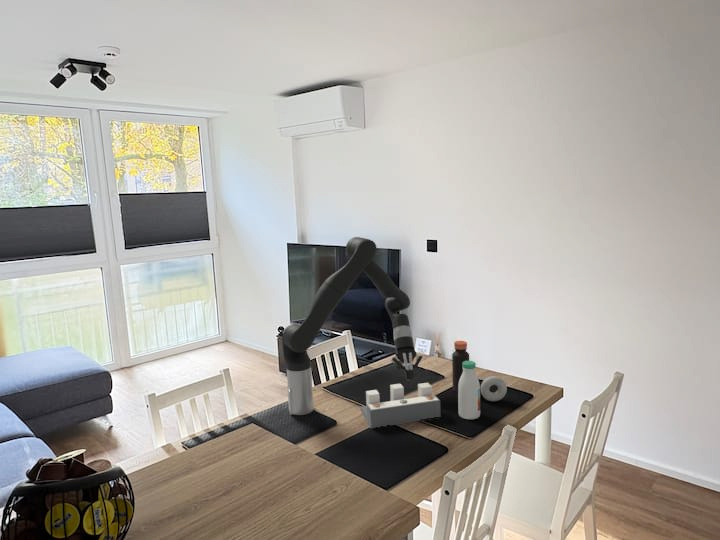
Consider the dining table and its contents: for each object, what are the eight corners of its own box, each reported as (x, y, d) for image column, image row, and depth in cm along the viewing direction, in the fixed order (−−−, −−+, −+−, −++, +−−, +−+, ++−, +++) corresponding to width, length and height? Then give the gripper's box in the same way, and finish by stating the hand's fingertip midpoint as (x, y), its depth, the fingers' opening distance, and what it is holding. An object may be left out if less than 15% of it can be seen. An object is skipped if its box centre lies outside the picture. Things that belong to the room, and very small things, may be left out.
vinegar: (449, 387, 204) (449, 341, 201) (464, 385, 206) (463, 339, 203) (457, 394, 198) (457, 346, 194) (472, 391, 200) (472, 343, 196)
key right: (422, 408, 182) (421, 387, 181) (418, 404, 186) (417, 383, 185) (432, 407, 183) (431, 386, 182) (428, 402, 187) (427, 382, 186)
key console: (370, 428, 172) (370, 409, 171) (360, 410, 187) (360, 392, 186) (440, 417, 178) (440, 399, 177) (425, 400, 193) (425, 383, 192)
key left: (369, 416, 178) (368, 395, 176) (366, 411, 181) (365, 391, 180) (380, 414, 178) (379, 393, 177) (377, 410, 182) (376, 389, 181)
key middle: (394, 409, 182) (393, 388, 181) (390, 405, 186) (390, 384, 185) (404, 408, 183) (403, 387, 182) (400, 403, 187) (400, 383, 186)
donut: (505, 398, 192) (505, 374, 190) (507, 402, 188) (508, 377, 187) (479, 399, 192) (479, 375, 190) (481, 403, 188) (481, 378, 187)
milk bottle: (474, 422, 174) (474, 367, 171) (454, 416, 178) (454, 363, 175) (483, 413, 180) (483, 361, 177) (464, 408, 185) (463, 357, 181)
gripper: (389, 336, 198) (395, 378, 189) (421, 334, 200) (428, 376, 191) (385, 343, 204) (392, 384, 195) (416, 341, 206) (424, 382, 198)
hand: (410, 380), depth 193 cm, fingers closed
